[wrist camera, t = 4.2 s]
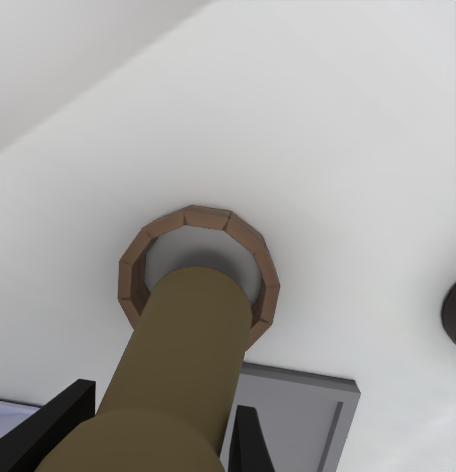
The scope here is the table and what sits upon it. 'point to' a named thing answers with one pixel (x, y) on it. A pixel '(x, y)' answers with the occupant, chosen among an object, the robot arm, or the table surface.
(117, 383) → the pepper mill
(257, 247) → the ring
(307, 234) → the table surface
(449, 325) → the vinegar
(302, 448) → the tray
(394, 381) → the table surface
